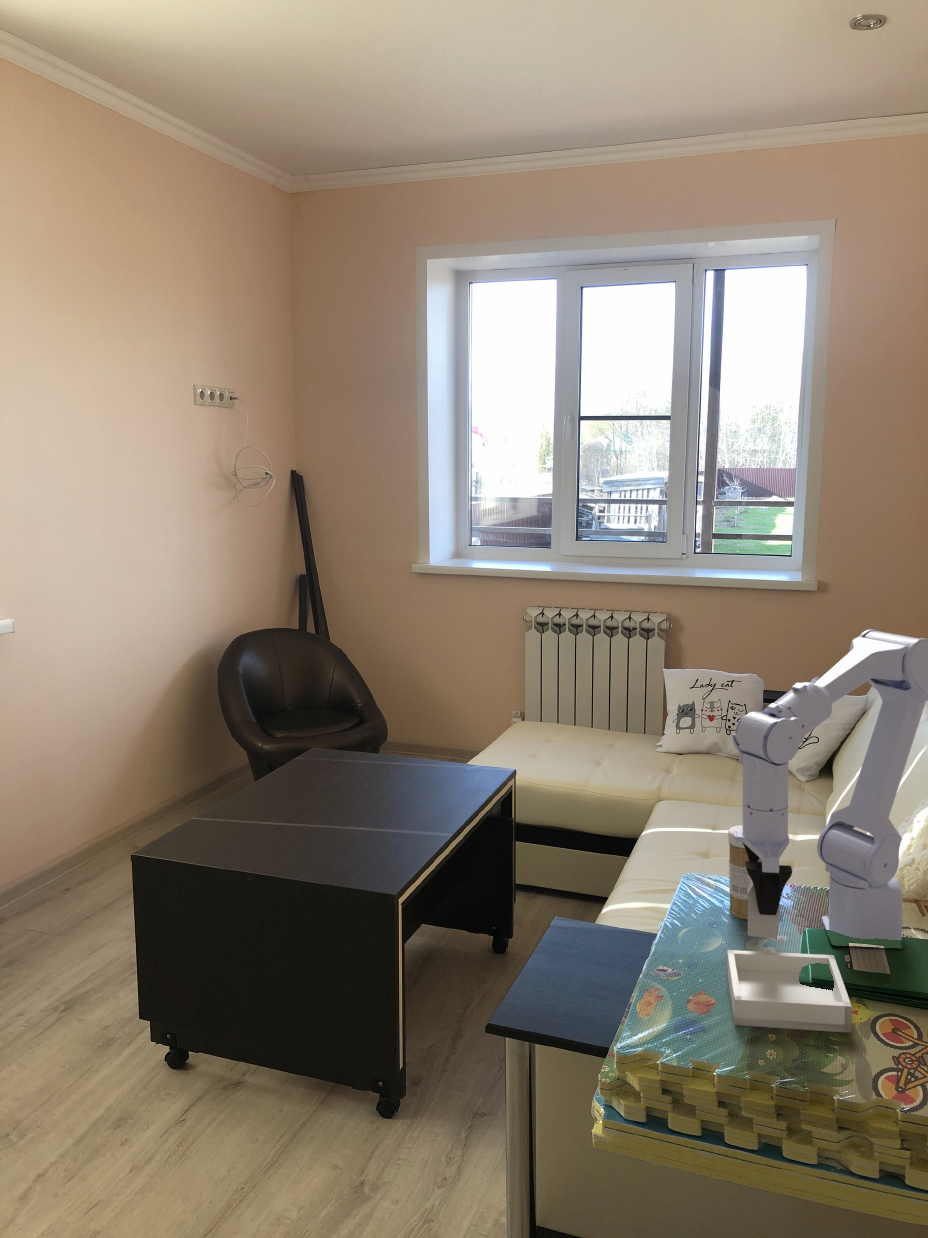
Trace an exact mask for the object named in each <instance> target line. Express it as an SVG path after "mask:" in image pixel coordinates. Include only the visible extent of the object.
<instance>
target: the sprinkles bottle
mask: <svg viewBox="0 0 928 1238" xmlns="http://www.w3.org/2000/svg"><path fill="white" fill-rule="evenodd" d="M742 830H743V824H742V825H740V824H739V825H735V826H732V827H729V829H728V832H727V833H728V836H727V838H728V839H727V840H728V844H729V860H728V865H729V867H728V870H729V872H728V874H729V877H728V880H729V882H728V883H729V909H728V910H729V913H730V914H731V916H733V917H735V918H737V919H742V920H748V890H749V884H750V876H749V874H748V872H747V870H746V865H745V861H749V858H748V855H747V852H746V849H745V847H744V845H743V843H742V842H737V841H735V840H734V837H733V832H734V831H742Z"/></svg>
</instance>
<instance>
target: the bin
mask: <svg viewBox="0 0 928 1238" xmlns="http://www.w3.org/2000/svg"><path fill="white" fill-rule="evenodd" d="M726 956H727V957H726V959H727V961H726V965H727V966H726V969H727V970H726V971H727V973H726V974H727V980H728V987H729V988H728V989H729V994H730V1001H731V1008H732V1015H733V1021H734V1022H733V1023H734V1026H740V1027H743V1026H744V1027H759V1028H771V1029H772V1028H774V1029H791V1030H803V1031H804V1030H805V1031H818V1032H819V1031H821V1032H835V1033H847V1034H848V1033H849V1034H852V1021H853V1020H852V1018H853V1017H852V1015H853V1013H852V1012H853V1006H852V1003H851V1000H850V997H849V995H848V992H847V989H846V986H845V983H844V981H843V977H842V975H841V972H840V969H839V967H838V964H837V961H836V958H835V955H832V954H819V953H818V954H817V953H816V954H814V953H813V954H812V953H797V952H796V953H794V952H792V953H791V952H776V951H774V952H773V951H756V950H755V951H753V950H735V949H727V951H726ZM810 963H811V964H815V963H821V964H822V963H823V964H828V965H829V968H830V971H831V974H832V976H833V980H834V988H833V991H832V990H828V989H827V990H826V989H821V988H815V987H809V986H806V985H802V984H800V982H799V973H800V972H801V969H802V967H804V966H807V965H808V964H810Z"/></svg>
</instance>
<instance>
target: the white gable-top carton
mask: <svg viewBox="0 0 928 1238" xmlns="http://www.w3.org/2000/svg"><path fill="white" fill-rule="evenodd" d="M757 862H761V859H760V858H759V860H758V861H757ZM780 904H781V903H780ZM780 904H779V908H778V911H777V914H776V915H761V914H760V913H759V910H758V906H757V900H756V894H755V888H754V885H753V882H752V880H751V878H750V884H749V890H748V919H747V936H750V937H758V938H765V939H771V940H772V939H774V940H777V939H778V932H779V921H780Z"/></svg>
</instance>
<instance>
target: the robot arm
mask: <svg viewBox="0 0 928 1238" xmlns="http://www.w3.org/2000/svg"><path fill="white" fill-rule="evenodd" d="M867 682H868V683H869V684H870V685H871V686H872V687H873V689H875V690H876V691H877V692H878V694H879V696H880V698H881V706H880V709H879V712H878V715H877V717H876V721H875V725H874V727H873V732H872V734H871V737H870V740H869V743H868V745H867V749H866V753H865V756H864V757H863V758H864V759H863V761H862V762H863V763H862V765H861V768H860V772H859V774H858V777H857V781H856V783H855V787H854V790H853V793H852V796H851V798H850V802H849V804H848V805H846V806H844V807H841V808H838V809H837V810H835V811H833V812H832V813H831V815H830V816H829V817H830V818H829V820H828V822H827V824H826V825H825V827H824V828H823V830H822V831H821V833H820V835H819V836H818V839H817V845H816V848H817V849H816V851H817V856H818V858H819V859H820V860H821V862H822V863H824V864H825V871H826V872H827V873H828V874H829V892H828V893H829V895H828V897H829V898H828V906H829V907H828V915H823V916H821V920H822V924H823V927H824V929H826V930H831V931H834V932H837V933H840V934H843V935H845V936H849V937H853V938H860V939H875V938H878V939H888V940H902V937H903V935H902V933H903V909H904V908H903V905H904V904H903V893H902V887H901V884H900V881H899V879H898V878H897V877H895V875H896V874H897V871H898V868H899V864H900V857H899V856H900V855H899V854H900V846H901V843H902V839H903V838H902V836H901V834H900V832H899V831H898V830H897V828H896V827H895V825H894V824H893V822H892V821H891V820H890V815H891V812H892V808H893V806H894V803H895V799H896V796H897V793H898V790H899V788H900V783H901V780H902V777H903V774H904V771H905V768H906V766H907V762H908V759H909V756H910V754H911V753H910V752H911V749H912V747H913V744H914V743H913V742H914V740H915V737H916V734H917V730H918V728H919V725H920V722H921V717H922V715H923V713H924V708H925V706H926V702H928V638H925V637H920V638H918V637H913V636H907V635H901V634H895V633H890V632H886V631H885V632H884V631H879V630H877V629H873V628H869V629H866V630H865V631H863V632H861V634H859V636H857V637H855V638H853V639H852V641H851V643H850V646H849V652H848V653H847V654H846V655H844V656H843V657H842V658H841V659H840V660H839V661H837V663H835V664H834V666H832V667H831V668H830V669H829V670H828V671H826V672H825V673H824V674H823V675H821V677H819V678H818V680H817V681H815V682H814V683H813V682H808V681H803V682H795V683H794V685H792V686H791V689H790V690H789V691H787V692H786V693H784V694H783V695H782V696H780V697H779V698H778V699H777V700H775V701H774V702H771V703H770V704H769V705H767V707H766V708H765V709H763V710H762V711H750V712H749V713H747V714H745V715H743V716H742V717H741V718H740V719H739V721H738V722H737V723H736V726H735V730H734V733H733V734H732V735H731V739H732V743H733V746H734V747H735V749H736V750H737V752H738V757H739V758H738V759H739V761H738V762H739V764H740V765H741V767H742V825H743V830H742V831H734V832H733V837H734V840H735V841H737V842H742V843H743V845H744V847H745V849H746V852H747V855H748V858H749V861H745V865H746V870H747V872H748V874H749V876H750V878H751V880H752V882H753V885H754V888H755V894H756V900H757V906H758V910H759V913H760V914H761V915H776V914H777V911H778V908H779V904H781V903H780V902H781V898H782V895H783V892H784V888H785V886H786V884H787V883H788V881H789V880H790V878H791V877H792V875H793V868H792V866H791V865H781V864H780V858H781V857H782V855H783V854H784V852H785V851H786V849H787V848H788V846H789V844H790V835H789V765H790V764H789V761H791V760H793V759H794V758H795V756H796V755H797V753H798V751H799V747H800V745H801V744H802V743H803V742H804V740H805V738H806V735H808V734H810V733H811V731H813V730H815V729H816V728H817V727H818V726H820V725H821V724H823V722H825V721H827V720H828V719H829V718H830V717H831V715H832V712H833V704H834V703H836V702H837V701H839V700H840V699H842V698H843V697H845V696H847V695H848V694H850V693H851V692H852V691H854V690H856V689H857V688H859V687H860V686H862V685H864V684H865V683H867ZM854 828H858V829H860V830H862V831H865V832H867V833H869V834H870V835H869V834H866V833H865V832H862V831H859V830H857V829H854ZM759 858H760V859H761V862H757V861H758V860H759ZM826 930H825V931H826ZM902 941H903V940H902Z"/></svg>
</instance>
